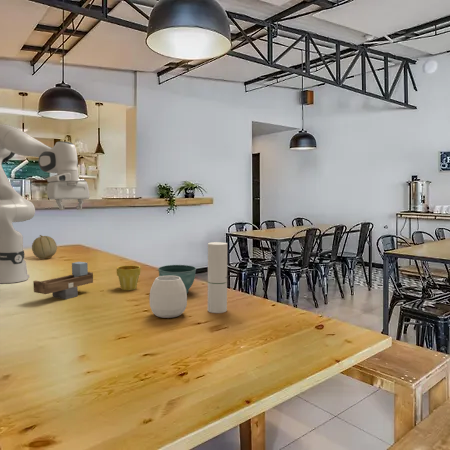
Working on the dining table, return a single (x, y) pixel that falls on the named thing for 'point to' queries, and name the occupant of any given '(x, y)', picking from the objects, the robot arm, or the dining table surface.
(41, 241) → the cantaloupe
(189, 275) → the flower pot
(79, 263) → the block
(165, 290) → the white vase
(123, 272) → the plant pot
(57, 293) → the beam
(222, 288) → the cylindrical container
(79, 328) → the dining table surface
